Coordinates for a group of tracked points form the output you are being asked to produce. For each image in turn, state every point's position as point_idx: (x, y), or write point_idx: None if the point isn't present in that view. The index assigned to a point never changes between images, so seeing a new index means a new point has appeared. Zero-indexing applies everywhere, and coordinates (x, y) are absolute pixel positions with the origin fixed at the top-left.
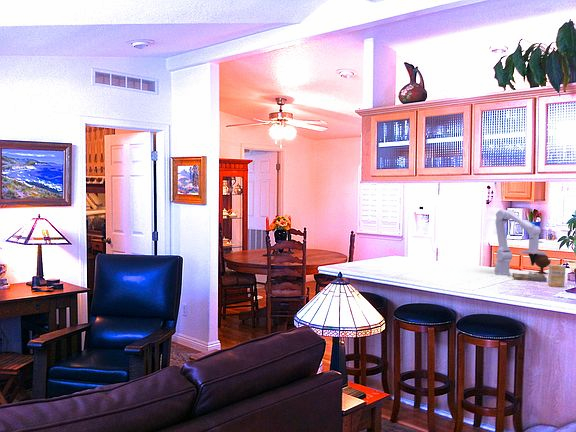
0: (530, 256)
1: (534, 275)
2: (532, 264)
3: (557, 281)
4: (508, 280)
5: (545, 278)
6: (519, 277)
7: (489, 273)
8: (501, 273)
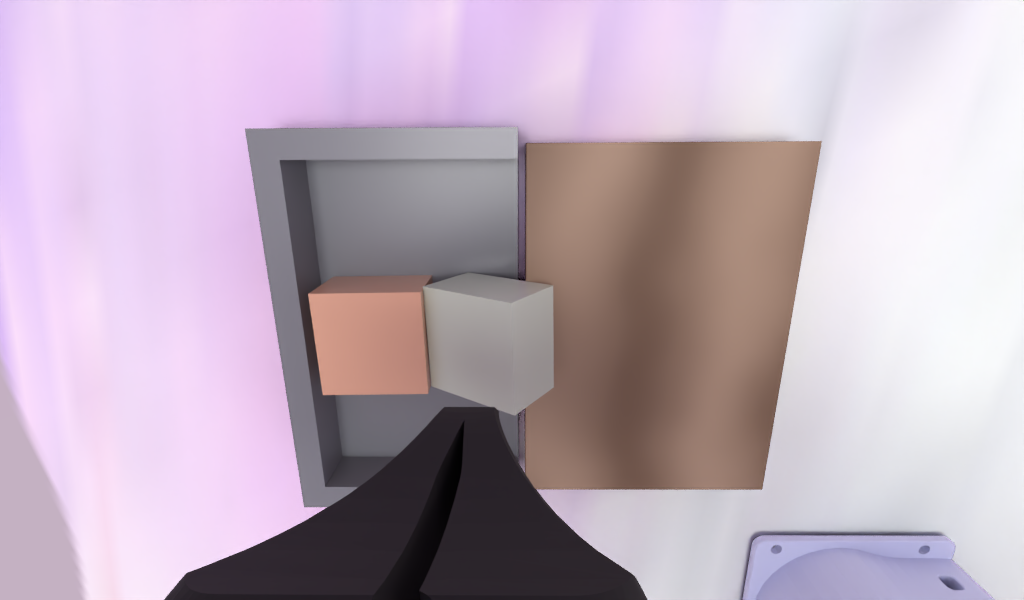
0: (581, 561)
1: (450, 288)
2: (476, 412)
3: None
4: (917, 4)
5: (270, 129)
6: (722, 143)
7: (1012, 563)
8: (872, 554)
